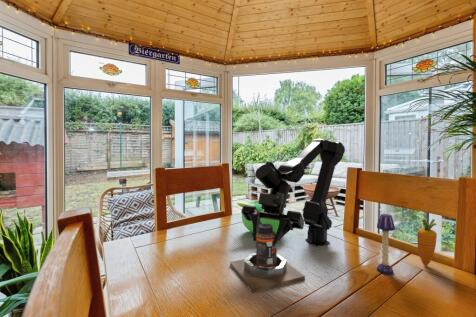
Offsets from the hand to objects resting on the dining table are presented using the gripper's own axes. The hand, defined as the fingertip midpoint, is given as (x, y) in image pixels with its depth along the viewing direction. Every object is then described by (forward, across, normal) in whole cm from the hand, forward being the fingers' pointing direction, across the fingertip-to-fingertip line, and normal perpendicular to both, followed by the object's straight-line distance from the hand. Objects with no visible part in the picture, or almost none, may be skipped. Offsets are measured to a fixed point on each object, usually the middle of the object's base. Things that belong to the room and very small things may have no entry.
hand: (264, 242), depth 75 cm
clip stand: (+6, 0, +7) cm, 9 cm away
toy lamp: (-7, +30, +20) cm, 37 cm away
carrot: (-13, +41, +27) cm, 51 cm away
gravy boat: (-14, -14, +28) cm, 34 cm away
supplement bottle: (+4, 0, +6) cm, 7 cm away
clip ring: (+6, 0, +7) cm, 9 cm away
